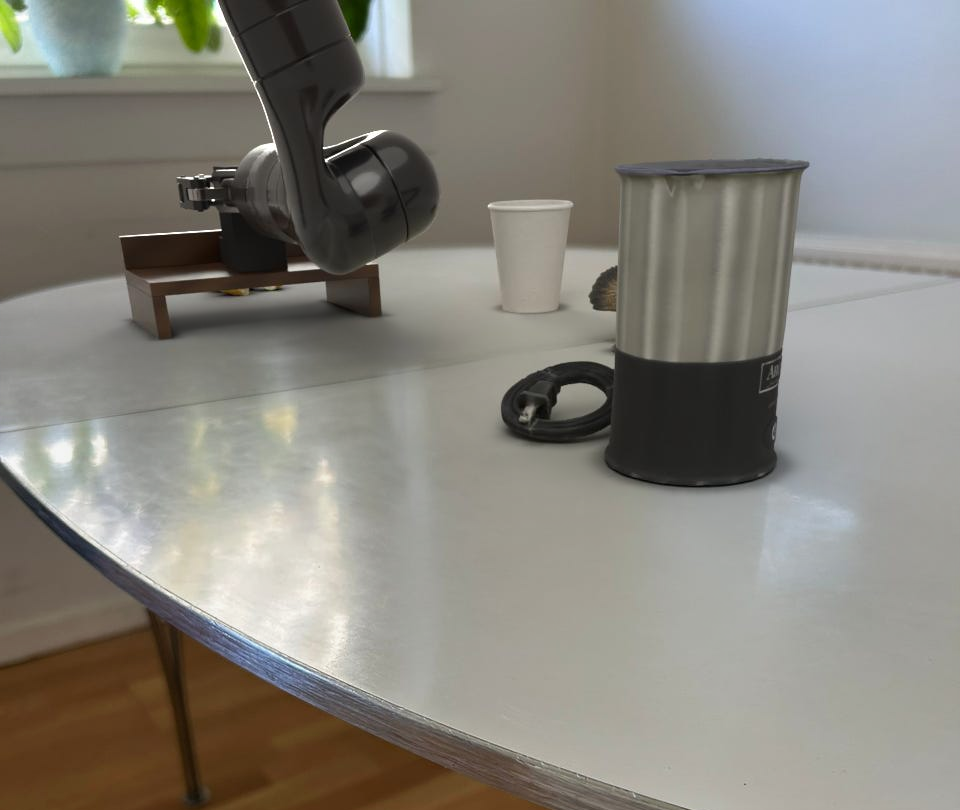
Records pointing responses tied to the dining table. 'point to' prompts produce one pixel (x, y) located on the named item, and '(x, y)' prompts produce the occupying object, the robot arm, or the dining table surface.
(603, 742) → the dining table surface
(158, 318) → the wooden bench
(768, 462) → the milk frother
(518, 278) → the dixie cup
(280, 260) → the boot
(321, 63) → the robot arm
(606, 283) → the eagle figurine
